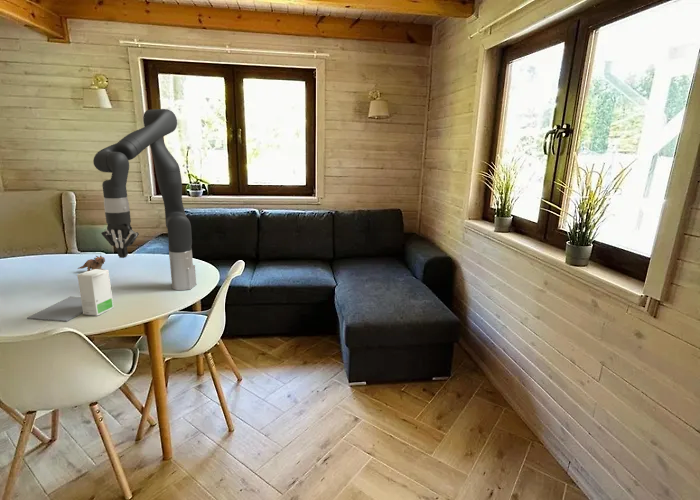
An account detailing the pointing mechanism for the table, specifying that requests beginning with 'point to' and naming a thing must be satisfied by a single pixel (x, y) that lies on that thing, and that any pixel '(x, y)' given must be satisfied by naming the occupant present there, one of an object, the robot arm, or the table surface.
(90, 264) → the dinosaur figurine
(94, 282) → the skincare box
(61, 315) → the slate mat
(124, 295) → the table surface
